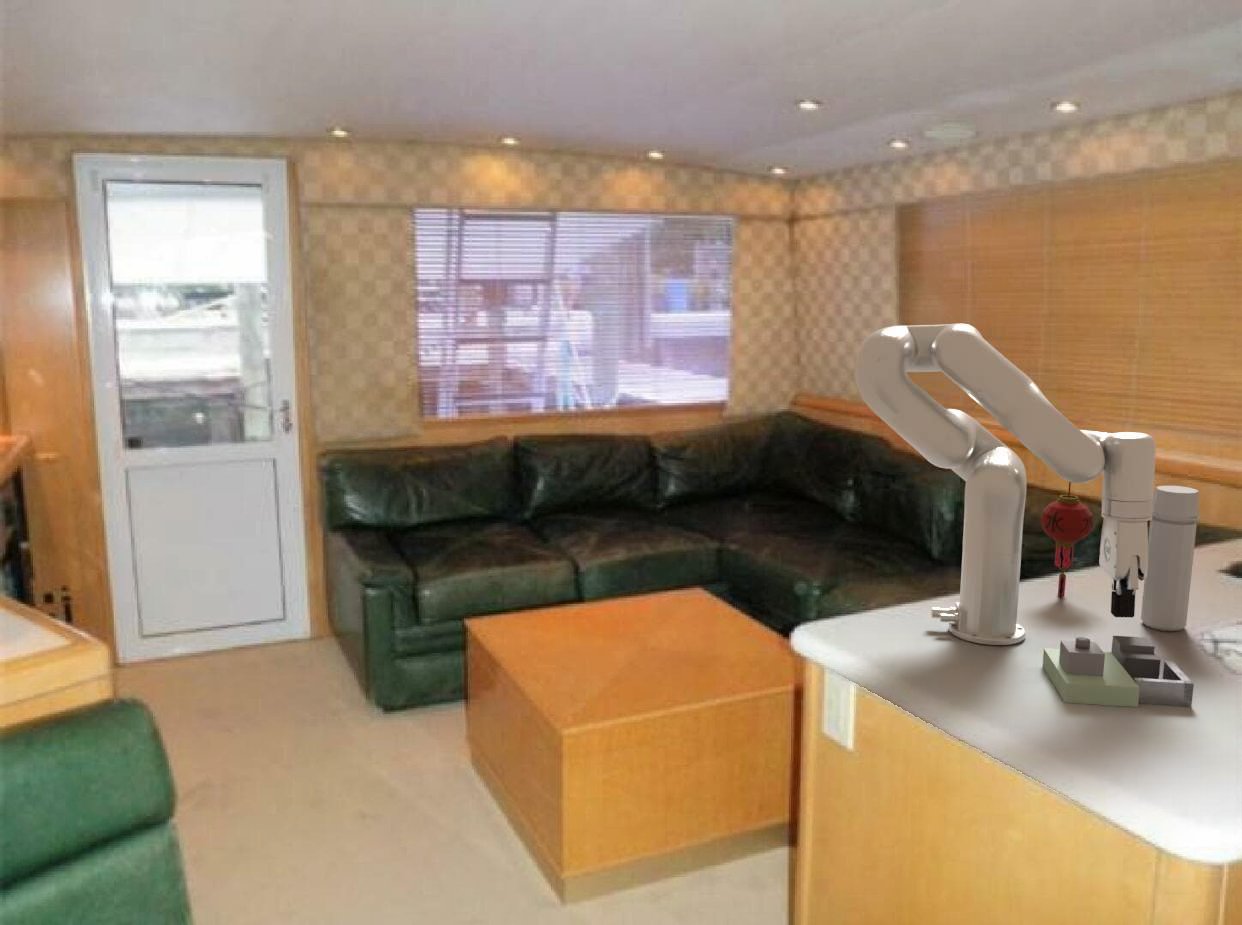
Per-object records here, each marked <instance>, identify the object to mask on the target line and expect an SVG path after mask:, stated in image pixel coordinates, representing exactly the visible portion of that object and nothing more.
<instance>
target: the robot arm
mask: <svg viewBox="0 0 1242 925" xmlns="http://www.w3.org/2000/svg"><path fill="white" fill-rule="evenodd" d="M854 370H855V376H854V377H855V382H856V386H857V389H858V392H859V394H860V396H861V398H862V400H863V401H864V403H865V404H866V405H867V406H868V408H869V409H870V410H871V411H872V412H873V413H874V414H875V415H876V416H877V417H878V418H880V419H881V421H883V422H884V423H885V424H886V425H887V426H889V427H890V428H891V429H892V430H893V431H894V432H895V433H896V434H897V435H898V436H899V437H901V438H902V439H903V440H904V441H905V442H906V443H907V444H909V445H910V446H911V447H912V448H914V449H915V450H916V452H918V453H919V454H920V455H921V456H922V457H923V458H925V459H926V460H927V462H929V463H930V464H932V465H933V466H935V467H938V468H942V469H945V470H946V469H948V470H949V469H950V470H951V471H953V472H954V473H955V474H956V475H957V476H958V477H960V478H961V479H962V480H963V481H965V488H964V513H963V514H964V516H963V517H964V518H963V532H962V533H963V534H962V535H963V536H962V556H961V558H962V559H961V573H960V574H961V576H960V589H959V590H960V591H959V601H955V606H949V608H945V607H935V606H932V607H931V609H930V617H931V618H932V619H939V621H940V622H943V623H948V630H949V633H951V634H952V635H953V636H955V637H956V638H959V639H962V640H963V641H967V642H971V643H975V644H981V645H987V646H988V645H989V646H1009V645H1016V644H1018V643H1021V642H1023V641H1024V639H1025V638H1026V630H1025V628H1024V627H1023V626H1022V625H1021V624H1019V623H1017V620H1018V619H1017V618H1018V604H1019V591H1020V590H1019V589H1020V578H1021V577H1020V576H1021V566H1022V565H1021V563H1022V562H1021V561H1022V544H1023V532H1024V531H1023V530H1024V518H1025V509H1026V508H1025V507H1026V500H1027V499H1026V498H1027V471H1026V467H1025V464H1024V463H1023V461H1022V459H1021V458H1020V457H1019V456H1018V454H1017V453H1015V452H1014V451H1013V450H1012V449H1011V448H1010V447H1008V446H1007V445H1006V444H1005V443H1004V442H1002V441H1001V440H1000V439H999V438H997V437H996V436H995V435H994V434H992V432H990V431H989V430H988V429H987V428H985V427H984V426H983V425H982V424H981V423H980V422H979V421H977V420H976V419H975V418H974V417H972V416H970V415H969V414H968V413H966V412H964V411H962V410H959V409H955V408H946V407H944V406H943V405H942V404H941V403H940V402H939V401H937V400H936V399H934V398H933V397H932V395H930V394H929V393H928V392H927V391H926V390H924V389H923V388H922V387H921V386H919V385H918V384H916V383H915V382H914V381H912V379H911V378H910V377H909V374H908V373H924V372H925V373H926V372H927V373H928V372H933V373H934V372H941V373H942V374H944V375H945V376H946V377H947V378H948V379H949V380H950V381H952V382H953V383H954V384H955V385H956V386H957V387H959V388H960V389H961V390H962V391H964V392H965V393H966V394H967V395H968V396H969V397H970V398H971V399H973V400H974V401H975V402H976V403H977V404H978V405H979V406H981V407H982V408H983V409H984V410H985V411H986V412H988V414H990V415H991V416H992V417H993V418H994V419H995V420H996V421H997V422H998V423H999V424H1000V425H1001V426H1002V427H1003V428H1005V430H1007V431H1008V432H1010V434H1012V435H1013V437H1015V438H1016V439H1017V440H1018V441H1019V442H1020V443H1021V444H1022V445H1023V446H1024V447H1026V448H1027V450H1029V451H1030V452H1031V453H1032V454H1033V455H1035V456H1036V458H1038V459H1039V460H1040V461H1041V462H1043V464H1045V465H1046V467H1048V468H1049V469H1051V470H1052V471H1053V472H1054V473H1055V474H1057V476H1059V478H1061V479H1064V480H1065V481H1068V483H1069V482H1071V483H1073V484H1086V483H1090V482H1091V481H1094V480H1095V479H1096V478H1098V477H1099V476H1100V475H1101V474H1102V483H1101V484H1102V485H1101V487H1102V489H1101V491H1102V492H1101V508H1100V509H1101V510H1100V511H1101V512H1100V514H1101V515H1100V516H1101V517H1102V518H1103V519H1102V520H1103V521H1102V526H1101V527H1102V528H1101V532H1100V533H1101V535H1100V546H1099V560H1098V562H1099V567H1100V568H1101V569H1102V570H1103V571H1104V572H1105V573H1106V574H1107V575H1108V576H1110V578H1111V590H1112V591H1111V597H1110V598H1111V599H1110V613H1111V614H1112V616H1113V617H1114V618H1135V608H1136V594H1137V591H1138V590H1139V581H1140V582H1141V581H1144V580H1145V578H1146V576H1147V567H1148V538H1149V530H1148V529H1149V528H1148V521H1149V522H1150V520H1151V519H1152V518H1153V517H1154V516H1153V500H1154V495H1155V475H1156V474H1155V471H1156V452H1157V451H1156V450H1157V444H1156V443H1157V442H1156V440H1155V438H1154V436H1152V435H1150V434H1148V433H1144V432H1135V431H1134V432H1133V431H1131V432H1130V431H1123V432H1122V431H1121V432H1113V433H1111V432H1109V433H1108V432H1102V431H1093V430H1087V429H1079V428H1078V427H1077V426H1076V425H1075V424H1074V423H1073V422H1071V421H1070V420H1069V419H1068V418H1067V417H1066V416H1064V415H1063V414H1062V413H1061V412H1060V411H1059V410H1058V409H1057V408H1056V407H1055V406H1054V405H1053V404H1052V402H1050V401H1049V400H1048V399H1047V397H1046V396H1045V395H1044V394H1043V392H1042V391H1041V389H1040V387H1038V385H1037V384H1036V383H1035V382H1034V381H1033V380H1032V379H1031V378H1030V377H1029V376H1028V375H1027V374H1026V373H1024V372H1023V370H1021V369H1020V368H1018V367H1017V365H1015V364H1013V362H1011V361H1010V360H1009V359H1008V358H1007V357H1005V356H1004V355H1003V354H1002V353H1001V352H1000V351H998V349H996V348H995V347H994V346H993V345H992V344H990V343H989V342H988V341H987V340H986V339H984V338H983V334H981V333H980V331H979V330H978V329H977V328H976V327H974V326H972V325H970V324H968V323H967V324H966V323H949V324H948V323H946V324H926V325H925V324H921V325H918V324H916V325H891V326H886V327H883V328H880V329H878V330H875V331H873V332H871V333H870V334H869V335H868V336H867V337H866V338H865V339H864V340H863V342H862V343H861V346H860V348H859V350H858V353H857V357H856V362H855V369H854Z"/></svg>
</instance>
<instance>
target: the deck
mask: <svg viewBox="0 0 1242 925" xmlns="http://www.w3.org/2000/svg"><path fill="white" fill-rule="evenodd" d="M1111 652H1112V651H1103V650H1102V648H1101V647H1100V646H1099V645H1098V643H1097V642H1095V641H1091V639H1090V638H1087V637H1085V636H1084V637H1082V636H1080V637H1079V636H1078V637H1075V640H1066V639H1065V640H1064V639H1063V640H1060V647H1059V648H1043V656H1042V657H1043V658H1042V668H1043V669H1044V671H1045V672H1046V674H1047V676H1048V678H1049V679H1050V680H1051V682H1052V684H1053V686H1054V687H1055V689H1056V690H1057V692H1058V694H1059V695H1060V696H1061V699H1062V701H1063V702H1064V703H1069V704H1071V703H1073V704H1087V705H1101V706H1102V705H1103V706H1114V707H1115V706H1116V707H1131V708H1138V706H1139V703H1138V700H1139V689H1140V687H1139V686H1138V685H1137V684H1136V683H1135V681H1134V680H1133V679H1132V678H1131V676H1130V675H1129V674H1128V673H1127V672H1126V670H1125V669H1124V668H1123V667H1122V665H1121V664H1120V663H1119V662H1118V660H1117V659H1116V658H1115V657H1114V656H1113V654H1112V653H1111Z"/></svg>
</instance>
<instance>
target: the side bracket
mask: <svg viewBox="0 0 1242 925" xmlns="http://www.w3.org/2000/svg"><path fill="white" fill-rule="evenodd" d="M1134 681H1135V683H1136V684H1137V685H1138V686H1139V687H1140V689H1139V700H1138V704H1146V705H1161V706H1162V705H1164V706H1176V707H1177V706H1179V707H1192V705H1193V704H1192V703H1193V694H1194V686H1195V683H1194V682H1193V681H1191V679H1190V678H1189V677H1188V676H1187V675H1186V674H1185V673H1184V672H1183V671H1182V670H1181V669H1180V668H1179V667H1178V666H1177V664H1176V663H1175V662H1174V661H1166V660H1165V661H1163V671H1162V678H1159V679H1148V678H1134Z"/></svg>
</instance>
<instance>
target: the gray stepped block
mask: <svg viewBox="0 0 1242 925" xmlns="http://www.w3.org/2000/svg"><path fill="white" fill-rule="evenodd" d="M1155 649H1156V647H1155V645H1154V644H1153V643H1152V642H1151V641H1150V639H1148V637H1147V636H1146V637H1144V636H1143V637H1141V636H1125V635H1112V642H1111V651H1110V652H1111V653H1112V654H1113V656H1114V657H1115V658H1116V659H1117V660H1118V662H1119V663H1120V664H1121V665H1122V667H1123V668H1124V669H1125V670H1126V672H1127V673H1128V674H1129V675H1130V676H1131V678H1132V679H1133V680H1134V678H1148V679H1160V672H1161V671H1160V670H1161V662H1162V661H1161V658H1160V657H1159V656H1158V655H1157V654H1156V653H1155Z"/></svg>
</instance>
